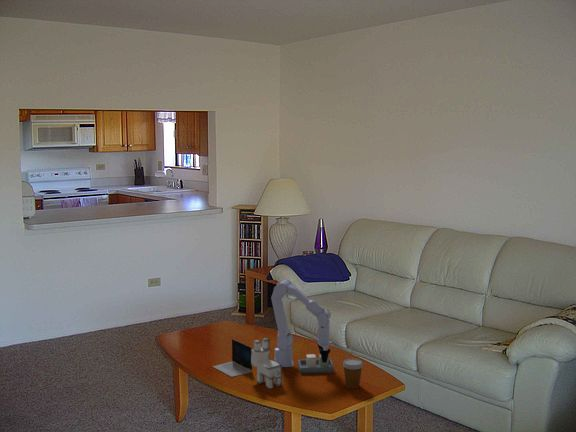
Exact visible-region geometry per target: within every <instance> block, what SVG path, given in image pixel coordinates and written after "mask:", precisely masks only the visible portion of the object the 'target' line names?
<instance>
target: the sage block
mask: <svg viewBox="0 0 576 432" xmlns="http://www.w3.org/2000/svg"><path fill="white" fill-rule="evenodd" d="M318 359H319V367H329V359H330V358H329V355H328V359H327V362H326V363H323V362H322V358H321V354H320V353H318Z"/></svg>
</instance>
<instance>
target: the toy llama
mask: <svg viewBox="0 0 576 432" xmlns="http://www.w3.org/2000/svg"><path fill="white" fill-rule="evenodd" d="M270 353H271V352H270V339H269V338H268V337H264V338H262V341H261V340H259V339H257V340H253V348H252V350H251V365H252V367H255V368H256V382H257V383H258V384H259V385H261V384H264V383H265V388H267V389H270V390H271V389H273V388H274V386H276V387H279V386H282V385H283V379H282V378H283V367H282V365H281V364H279V363H277V362H275V361H274V360H273V359H270V357H271V355H270Z"/></svg>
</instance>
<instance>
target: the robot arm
mask: <svg viewBox="0 0 576 432" xmlns="http://www.w3.org/2000/svg"><path fill="white" fill-rule="evenodd" d="M285 295H286V296H292V297H295V298H296V299H297V300H299V301H300V302H301V303H302V304H304V305H305V309H306V310H307V311H309V313H311V314H312V315H313V316H314V317H315V318H316V320H317V324H318V325H317V327H318V328H317V333H318V334H317V343H316V344H317V347H318V350H319V351H318V352H319V354H321V358H322V362H323V363H326V362H327V359H328V356H329V354H330V353H331V349H330V348H328V347H329V346H330V345H332V344H333V343H332V341H330V328H331V327H330V318H331V316H332V313H331V312H330V311H329V309H327V308H325V307H322V306H321V305H320V304H319V302H318V301H317V300H314V299H310V298H308V296H307V295H306V294H304V293H303V292H302V291H301V290H300V289H299V288H298V287H297V286H296V285H295V284H294V282H291V280H289V279H283V280H281V281H280V282H279V283H277V284H276V285H275V286H274V287H273V291H272V295H271V297H270V299H271V303H272V309H273V313H274V317H275V321H276V322H275V323H276V326H277V336H276V337H277V342H276V345H277V347H275V348H274V359H273V361H275V362H277V363H279V364H281V365H282V368H293V367H294V366H295V365H294V361H293V345H292V344H293V343H294V336H293V334H292V332H291V330H290V329H289V327H288V322H287V318H286V312H285V308H284V302H283V298H284V297H285Z"/></svg>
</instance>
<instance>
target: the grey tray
mask: <svg viewBox="0 0 576 432" xmlns="http://www.w3.org/2000/svg"><path fill="white" fill-rule="evenodd" d="M297 366H298V370H299V374H300V375H303V374H304V375H305V374H308V375H309V374H334V373H335V367H334V364H333V361H332V359H331V358H329V367H319V358H316V367H306V359H298V360H297Z"/></svg>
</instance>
